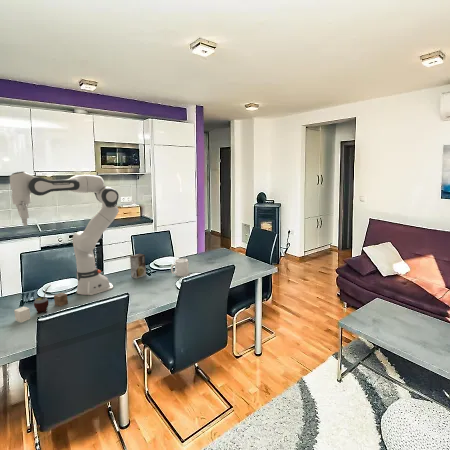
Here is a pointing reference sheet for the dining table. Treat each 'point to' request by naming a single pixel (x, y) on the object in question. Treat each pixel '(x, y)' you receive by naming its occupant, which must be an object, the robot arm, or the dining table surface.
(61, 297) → the walnut block
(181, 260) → the mug
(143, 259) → the coffee box
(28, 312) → the off-white block
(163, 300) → the dining table surface
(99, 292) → the robot arm
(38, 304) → the mate gourd
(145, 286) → the dining table surface
